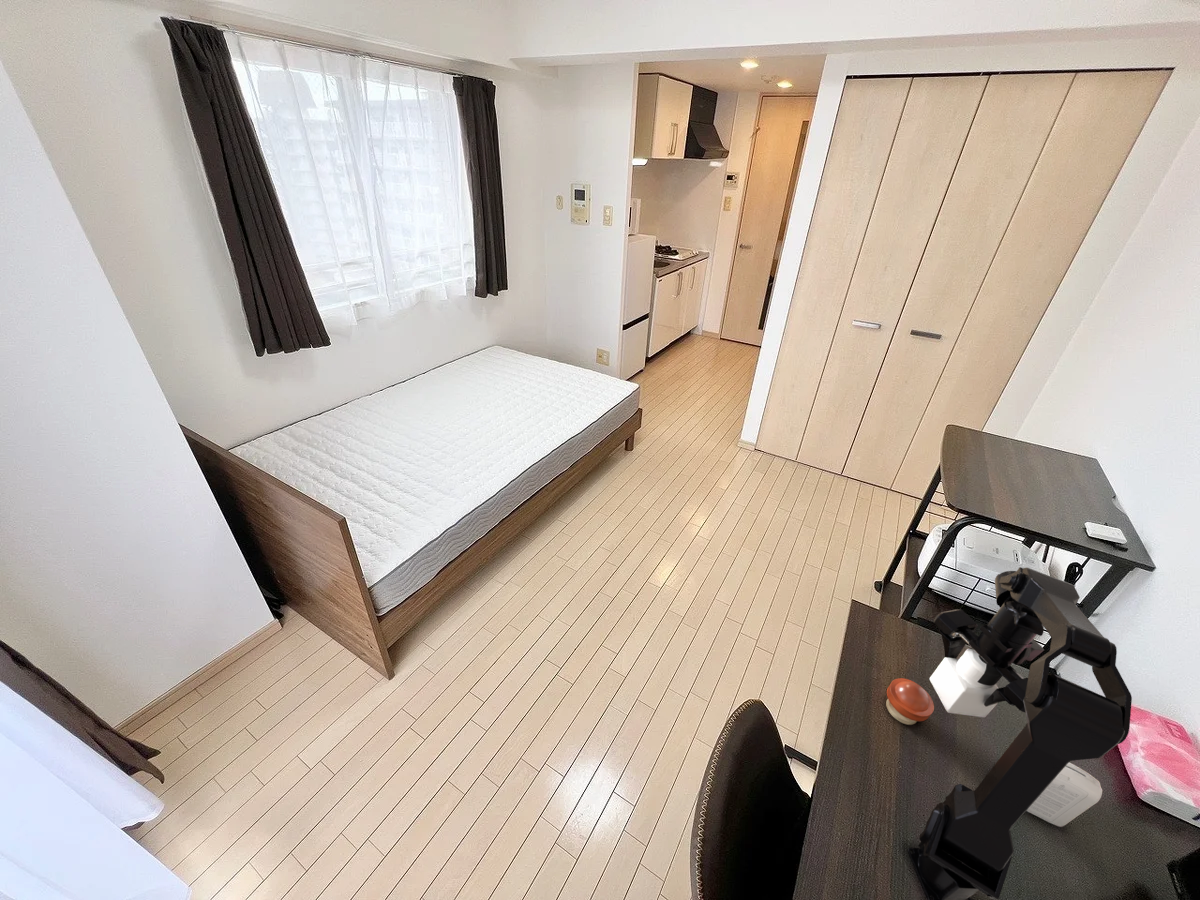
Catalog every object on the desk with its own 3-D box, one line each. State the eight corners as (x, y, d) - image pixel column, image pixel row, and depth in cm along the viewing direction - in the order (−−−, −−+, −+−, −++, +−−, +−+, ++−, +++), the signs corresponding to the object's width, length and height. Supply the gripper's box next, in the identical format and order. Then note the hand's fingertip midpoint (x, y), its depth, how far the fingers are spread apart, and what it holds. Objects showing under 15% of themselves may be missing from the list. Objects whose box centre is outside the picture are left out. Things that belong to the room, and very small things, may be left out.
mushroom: (931, 731, 92) (948, 710, 88) (892, 729, 92) (908, 707, 88) (910, 693, 98) (925, 672, 95) (873, 691, 98) (887, 669, 94)
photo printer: (1059, 807, 82) (1105, 772, 76) (1065, 833, 79) (1113, 798, 73) (989, 772, 86) (1026, 736, 80) (992, 795, 83) (1031, 760, 77)
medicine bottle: (964, 683, 96) (994, 644, 90) (985, 718, 90) (1019, 680, 84) (928, 678, 96) (955, 640, 90) (946, 713, 90) (978, 674, 84)
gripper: (1102, 671, 77) (1047, 724, 85) (996, 583, 92) (958, 635, 100) (1051, 683, 74) (999, 737, 82) (951, 591, 89) (915, 644, 98)
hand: (966, 684), depth 91 cm, fingers closed on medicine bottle, 8 cm apart
